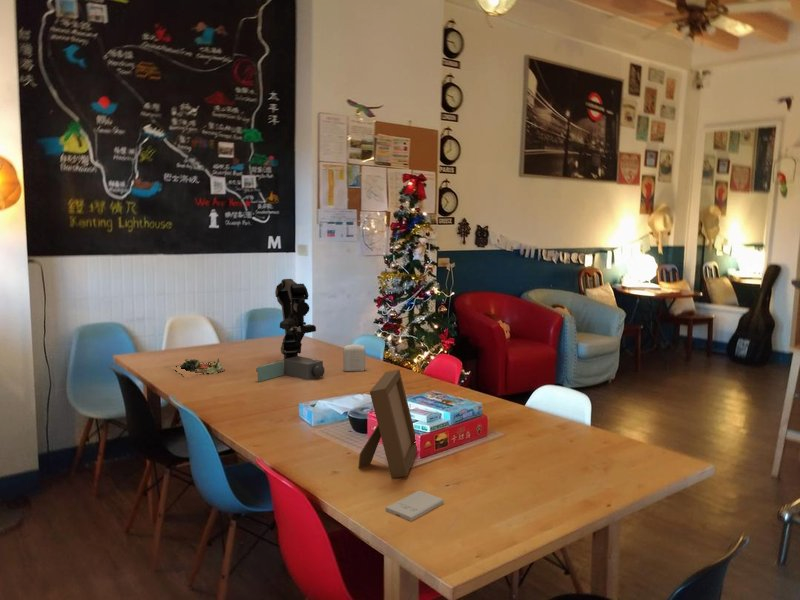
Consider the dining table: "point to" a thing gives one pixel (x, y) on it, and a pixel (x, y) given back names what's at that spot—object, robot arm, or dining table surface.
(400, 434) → the photo frame
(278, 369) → the grey-green bar
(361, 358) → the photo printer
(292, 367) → the large grey box
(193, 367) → the plated dish
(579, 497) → the dining table surface
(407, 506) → the external hard drive
